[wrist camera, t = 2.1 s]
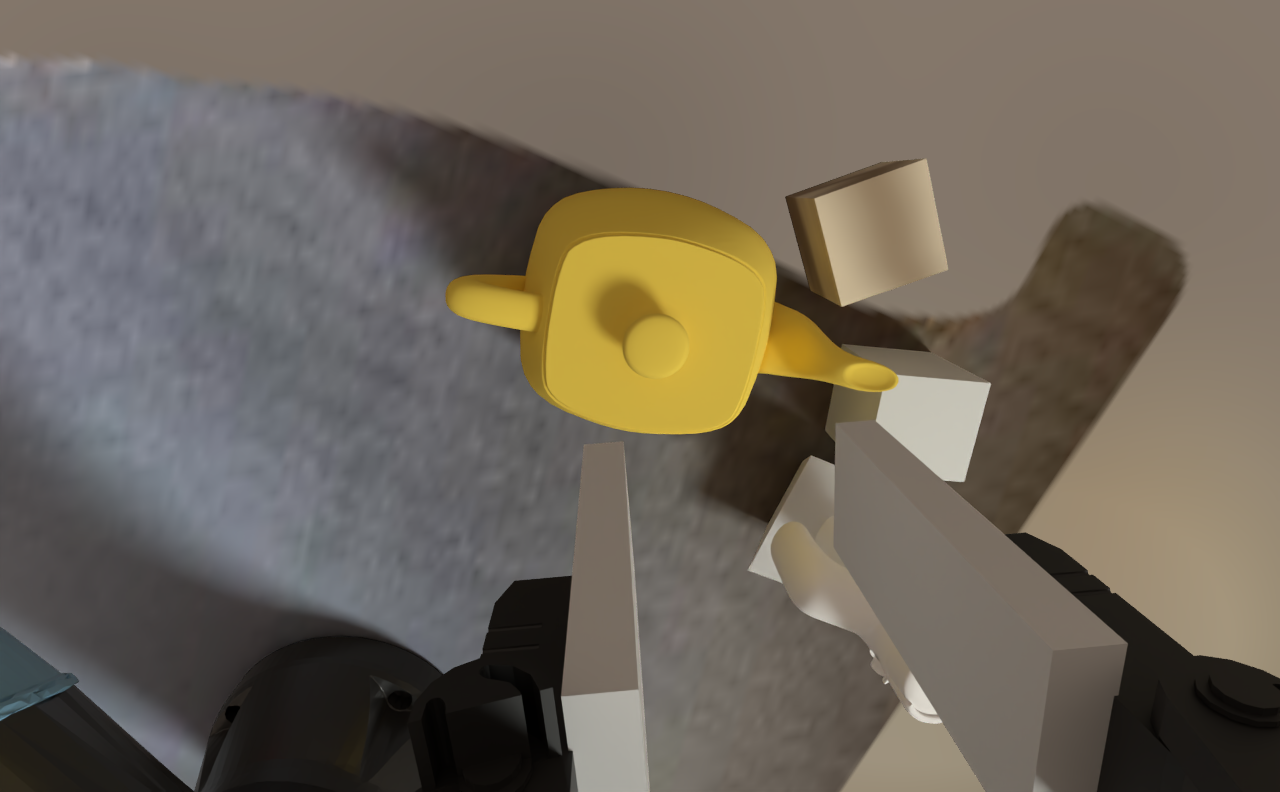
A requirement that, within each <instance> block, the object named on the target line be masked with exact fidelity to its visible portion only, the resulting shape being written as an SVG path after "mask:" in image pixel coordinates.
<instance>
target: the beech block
mask: <svg viewBox="0 0 1280 792" xmlns="http://www.w3.org/2000/svg"><path fill="white" fill-rule="evenodd" d="M785 198H786V202H787V206H788V210H789V213H790V217H791V221H792V225H793V228H794V232H795V236H796V240H797V243H798V247H799V251H800V255H801V259H802V262H803V266H804V269H805V274H806V277H807V280H808V284H809V287H810V291H812V292H814V293H816V294H818V295H820V296H822V297H824V298H826V299H828V300H830V301H832V302H833V303H835V304H837V305H839V306H841V307H843V306H846V305H848V304H851V303H854V302H857V301H860V300H863V299H866V298H868V297H871V296H874V295H877V294H880V293H883V292H886V291H889V290H892V289H894V288H897V287H900V286H903V285H906V284H909V283H912V282H914V281H918V280H920V279H923V278H926V277H929V276H932V275H935V274H938V273H941V272H943V271H946V270H948V266H947V260H946V255H945V250H944V245H943V240H942V235H941V230H940V225H939V220H938V215H937V210H936V204H935V200H934V194H933V190H932V185H931V179H930V175H929V169H928V164H927V159H914V160H903V161H892V162H880V163H878V164H875V165H872V166H870V167H867V168H864V169H861V170H858V171H855V172H853V173H850V174H847V175H845V176H842V177H839V178H836V179H833V180H830V181H828V182H825V183H822V184H819V185H817V186H814V187H811V188H808V189H805V190H802V191H800V192H797V193H794V194H792V195H789V196H786V197H785Z"/></svg>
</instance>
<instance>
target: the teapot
mask: <svg viewBox="0 0 1280 792" xmlns="http://www.w3.org/2000/svg"><path fill="white" fill-rule="evenodd" d="M776 283H777V274H776V265H775V261H774V258H773V255H772V253H771V250H770V249H769V247H768V246H767V244H766V242H765V241H764V239H763V238H762V237H761V236H760V235H759V234H758V233H757V232H755V231H754V230H753V229H752V228H751V227H750V226H748V225H746V224H745V223H743V222H742V221H740V220H738V219H737V218H735V217H733V216H731V215H729V214H727V213H725V212H724V211H721V210H720V209H718V208H716V207H713V206H711V205H709V204H706V203H704V202H702V201H699V200H696V199H693V198H690V197H687V196H684V195H680V194H675V193H671V192H667V191H661V190H654V189H645V188H609V189H598V190H591V191H586V192H580V193H576V194H574V195H571V196H568V197H565V198H563V199H562V200H560V201H559V202H557V203H556V204H555V205H553V206H552V207H551V208H550V210H549V211H548V212H547V213H546V214H545V216H544V217H543V219H542V221H541V223H540V225H539V226H538V230H537V233H536V237H535V240H534V244H533V247H532V250H531V254H530V258H529V263H528V267H527V271H526V276H518V275H469V276H462V277H459V278H457V279H454V280H453V281H452V282H450V284H449V285H448V287H447V290H446V303H447V306H448V307H449V308H450V310H451V311H453V312H454V313H455V314H457V315H459V316H461V317H464V318H467V319H470V320H474V321H478V322H482V323H487V324H492V325H497V326H502V327H508V328H513V329H519V330H520V348H521V362H522V366H523V370H524V374H525V376H526V378H527V380H528V382H529V383H530V385H531V387H532V388H533V389H534V390H535V391H536V392H537V394H538V395H540V396H541V397H542V398H544V399H545V400H546V401H548V402H549V403H551V404H552V405H554V406H556V407H558V408H560V409H562V410H564V411H566V412H568V413H571V414H573V415H576V416H578V417H581V418H583V419H586V420H589V421H592V422H595V423H598V424H601V425H604V426H608V427H611V428H615V429H620V430H625V431H630V432H638V433H651V434H694V433H702V432H709V431H713V430H716V429H720V428H722V427H724V426H726V425H728V424H729V423H731V422H732V421H733V420H734V419H735V418H736V417H737V416H738V415H739V414H740V412H741V411H742V409H743V408H744V406H745V405H746V402H747V400H748V397H749V395H750V392H751V390H752V387H753V385H754V382H755V380H756V377H757V374H758V373H764V374H773V375H780V376H787V377H796V378H806V379H813V380H819V381H824V382H828V383H832V384H836V385H840V386H843V387H847V388H851V389H855V390H859V391H867V392H882V391H888V390H891V389H893V388H895V387H896V386H897V384H898V382H899V378H898V376H897V374H896V373H895V372H894V371H892V370H891V369H889V368H888V367H886V366H884V365H882V364H879V363H876V362H874V361H870V360H867V359H864V358H861V357H857V356H854V355H852V354H850V353H848V352H846V351H844V350H842V349H841V348H839V347H838V346H837V345H835V344H834V343H833V342H832V341H831V340H830V339H829V338H828V337H827V336H826V335H825V334H824V333H823V332H822V331H821V329H820V328H819V327H818V326H817V325H816V324H815V323H814V322H813V321H811V320H810V319H809V318H808V317H806V316H805V315H803V314H801V313H800V312H798V311H796V310H793V309H791V308H789V307H786V306H784V305H781V304H779V303H777V302H775V292H776Z"/></svg>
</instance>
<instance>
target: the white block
mask: <svg viewBox="0 0 1280 792" xmlns="http://www.w3.org/2000/svg"><path fill="white" fill-rule="evenodd" d="M841 349H842V350H844V351H846V352H848V353H850V354H852V355H854V356H857V357H861V358H864V359H867V360H870V361H874V362H876V363H879V364H882V365H884V366H886V367H888V368H889V369H891V370H892V371H894V372H895V373H896V374H897V376H898V378H899V382H898V384H897V386H896V387H895V388H893V389H891V390H888V391H882V392H867V391H859V390H855V389H851V388H847V387H843V386H840V385H836V384H834V387H833V392H832V397H831V402H830V407H829V412H828V417H827V422H826V427H825V431H826V432H827V433H828V434H829V436H830V437H831V438H832V439H833V440H834V441H835V435H836V423H844V422H856V421H868V420H875V421H876V422H877V423H878V424H880V425H881V426H882V427H883V428H884V429H885V430H886V431H888V432H889V433H890V434H891V435H892V436H893V437H894V438H895V439H897V440H898V441H899V442H900V443H901V444H902V445H903V446H905V447H906V448H907V449H908V450H909V451H910V452H911V453H912V454H914V455H915V456H916V457H917V458H918V459H919V460H920V461H922V462H923V463H924V464H925V465H926V466H927V467H928V468H929V469H931V470H932V471H933V472H934V473H935V474H936V475H937V476H939V477H940V478H941V479H942V480H945V481H958V482H964V480H965V477H966V473H967V469H968V466H969V462H970V458H971V455H972V451H973V447H974V444H975V440H976V436H977V433H978V429H979V425H980V422H981V418H982V414H983V411H984V407H985V403H986V400H987V396H988V392H989V389H990V385H991V383H990V382H988V381H986V380H984V379H982V378H980V377H978V376H976V375H974V374H972V373H970V372H968V371H966V370H964V369H962V368H961V367H959V366H957V365H955V364H953V363H951V362H949V361H947V360H945V359H943V358H941V357H939V356H937V355H935V354H933V353H931V352H924V351H913V350H902V349H891V348H880V347H869V346H858V345H847V344H842V346H841Z"/></svg>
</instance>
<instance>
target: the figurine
mask: <svg viewBox="0 0 1280 792" xmlns="http://www.w3.org/2000/svg"><path fill="white" fill-rule="evenodd" d="M834 487H835V465H834V464H831V463H829V462H826V461H824V460H821V459H819V458H817V457H814V456H812V455H811V456H809V457H808V458H806V459H805V460H803V461H802V463H801V465H800V467H799V468H798V470H797V472H796V474H795V476H794V478H793V479H792V481H791V483H790V485H789V487H788V488H787V490H786V492H785V494H784V496H783V498H782V499H781V501H780V503H779V505H778V507H777V508H776V510H775V512H774V514H773V516H772V518H771V519H770V521H769V523H768V525H767V527H766V530H765V532H764V534H763V536H762V539H761V541H760V543H759V546H758V548H757V550H756V552H755V555H754V557H753V559H752V562H751V564H750V566H749V568H748V570H749V571H751V572H754V573H757V574H759V575H762V576H765V577H767V578H770V579H773V580H776V581H778V582H781V583H783V585H784V587H785V589H786V591H787V593H788V595H789V596H790V598H791V600H792V601H793V603H794V604H795V605H796V606H797V607H798V608H799V609H800V610H801V611H802V612H804V613H806V614H807V615H809V616H811V617H813V618H816V619H819V620H821V621H824V622H827V623H830V624H832V625H835V626H838V627H841V628H843V629H846V630H849V631H852V632H854V633H856V634H857V635H858V636H859V637H861V638H862V640H863V641H864V642H865V643H866V644H867V645H868V647H869V648H870V650H869V652H870V654H871V655H872V657H873V660H872V662H871V667H872V668H873V669H874V670H875V671H876V672H877V673H878V674H879V675H881V676H883V677H884V678H883V679H882V681H883V683H884V684H886V683H890V685H891V686H892V688H893V690H894V691H895V693H896V695H897V696H898V698H899V700H900V701H901V703H902V705H903V706H904V708H905V709H906V710H907V712H908V713H909V714H910V715H911V716H913V717H914V718H915V719H917V720H919V721H921V722H924V723H935V724H937V723H943V722H942V721H941V719H940V717H939V716H938V714H937V713H936V711H935V709H934V708H933V706H932V705H931V703H930V701H929V700H928V698H927V697H926V695H925V693H924V692H923V690H922V689H921V687H920V685H919V684H918V682H917V681H916V679H915V677H914V676H913V674H912V673H911V671H910V669H909V668H908V666H907V664H906V663H905V661H904V660H903V658H902V656H901V655H900V653H899V652H898V650H897V648H896V647H895V645H894V644H893V642H892V640H891V639H890V637H889V636H888V634H887V632H886V631H885V629H884V628H883V626H882V624H881V623H880V621H879V620H878V618H877V616H876V615H875V613H874V611H873V610H872V608H871V607H870V605H869V603H868V602H867V600H866V599H865V597H864V595H863V594H862V592H861V591H860V589H859V587H858V586H857V584H856V583H855V581H854V579H853V578H852V576H851V575H850V573H849V571H848V570H847V568H846V567H845V565H844V563H843V562H842V560H841V558H840V557H839V555H838V554H837V552H836V550H835V549H834V547H833V540H834Z"/></svg>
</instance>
